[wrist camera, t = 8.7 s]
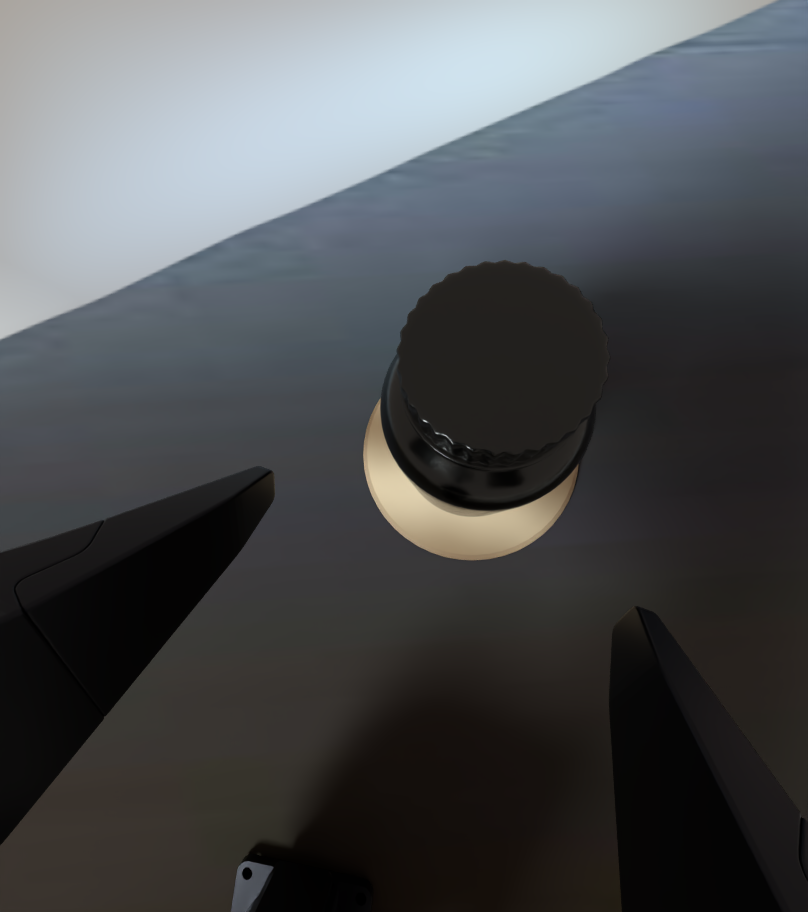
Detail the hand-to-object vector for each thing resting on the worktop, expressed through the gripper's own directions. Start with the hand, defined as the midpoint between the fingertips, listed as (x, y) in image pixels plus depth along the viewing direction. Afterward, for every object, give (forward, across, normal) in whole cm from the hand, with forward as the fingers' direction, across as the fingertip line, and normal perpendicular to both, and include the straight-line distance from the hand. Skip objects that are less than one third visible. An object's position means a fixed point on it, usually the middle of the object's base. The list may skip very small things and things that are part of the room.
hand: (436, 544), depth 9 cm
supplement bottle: (+11, 0, +4) cm, 12 cm away
